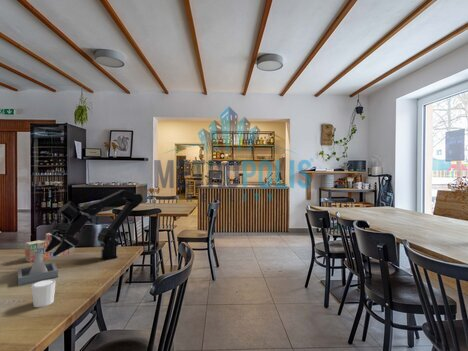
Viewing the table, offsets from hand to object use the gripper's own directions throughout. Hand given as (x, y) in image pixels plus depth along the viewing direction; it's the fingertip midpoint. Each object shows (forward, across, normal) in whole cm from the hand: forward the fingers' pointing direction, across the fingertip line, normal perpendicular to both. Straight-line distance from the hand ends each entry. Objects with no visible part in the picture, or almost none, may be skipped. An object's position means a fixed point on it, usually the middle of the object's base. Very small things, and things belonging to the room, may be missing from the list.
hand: (49, 253), depth 116 cm
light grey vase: (+9, 0, +3) cm, 9 cm away
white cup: (+14, +29, -2) cm, 33 cm away
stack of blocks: (0, -28, +13) cm, 31 cm away
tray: (+9, 0, +3) cm, 10 cm away
